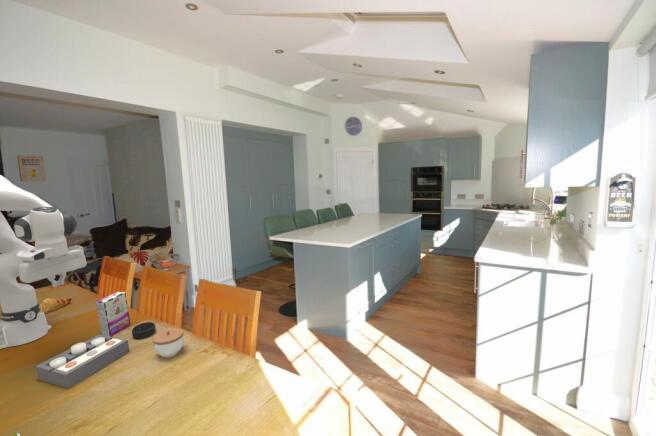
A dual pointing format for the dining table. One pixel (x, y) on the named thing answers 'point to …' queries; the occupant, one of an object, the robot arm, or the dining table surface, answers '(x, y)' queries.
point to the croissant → (53, 304)
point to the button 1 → (58, 362)
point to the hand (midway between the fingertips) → (58, 285)
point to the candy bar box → (113, 313)
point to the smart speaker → (143, 330)
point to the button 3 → (98, 341)
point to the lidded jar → (168, 342)
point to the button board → (82, 362)
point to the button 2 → (78, 349)
